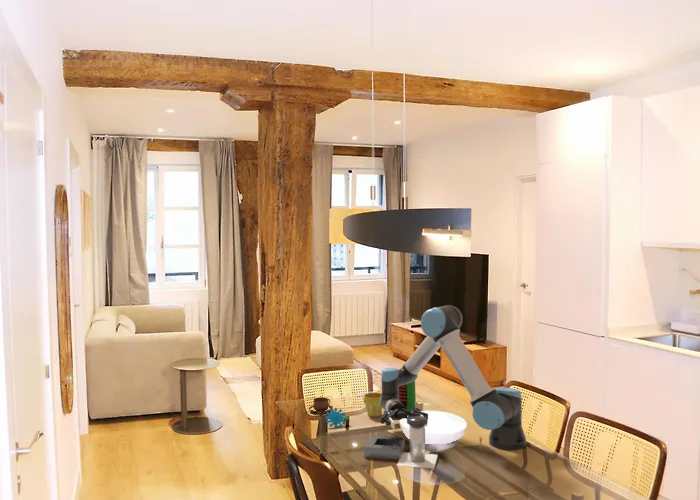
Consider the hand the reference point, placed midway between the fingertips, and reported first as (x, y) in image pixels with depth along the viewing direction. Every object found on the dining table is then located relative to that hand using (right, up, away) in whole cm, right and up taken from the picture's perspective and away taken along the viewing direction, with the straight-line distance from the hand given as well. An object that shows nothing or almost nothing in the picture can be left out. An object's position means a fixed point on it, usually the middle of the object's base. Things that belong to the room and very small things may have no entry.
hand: (410, 424), depth 247 cm
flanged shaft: (+2, -11, -9) cm, 14 cm away
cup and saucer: (-39, -11, +62) cm, 74 cm away
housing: (-10, -12, 0) cm, 16 cm away
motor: (+4, -10, +63) cm, 64 cm away
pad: (+2, -12, -9) cm, 15 cm away
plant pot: (-12, -11, +53) cm, 56 cm away
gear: (-30, -12, +38) cm, 50 cm away
